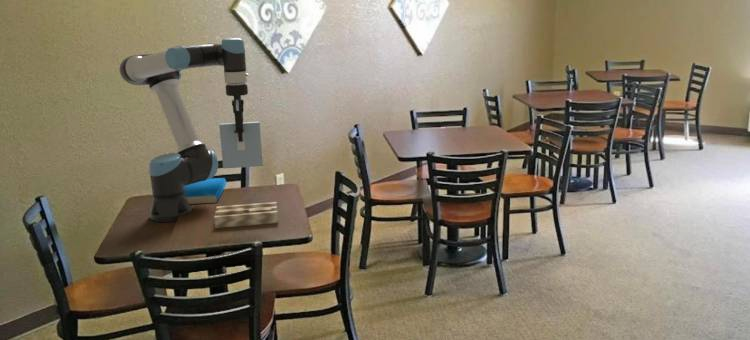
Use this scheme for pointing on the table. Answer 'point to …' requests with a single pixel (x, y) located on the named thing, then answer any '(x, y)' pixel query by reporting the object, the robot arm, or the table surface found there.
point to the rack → (247, 215)
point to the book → (205, 191)
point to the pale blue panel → (252, 146)
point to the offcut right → (260, 210)
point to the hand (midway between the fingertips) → (241, 149)
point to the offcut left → (230, 211)
